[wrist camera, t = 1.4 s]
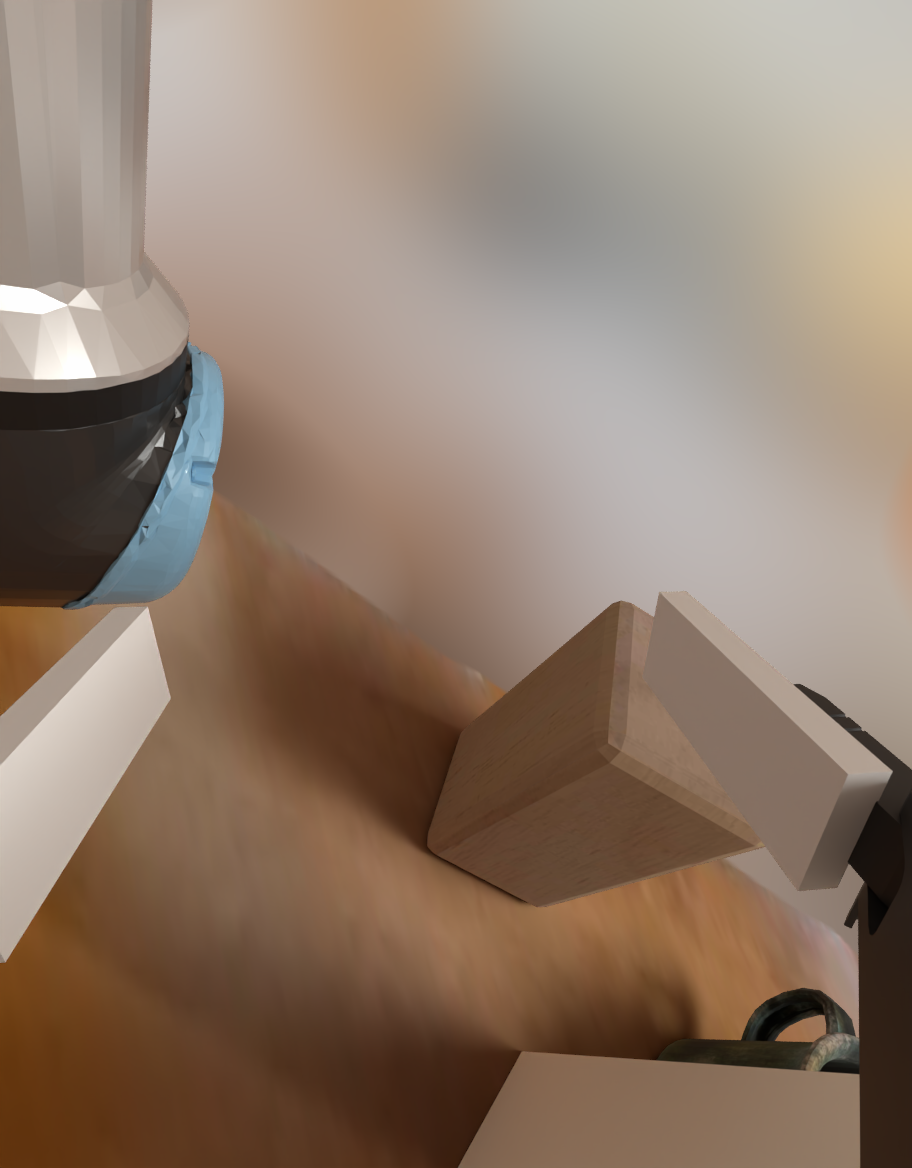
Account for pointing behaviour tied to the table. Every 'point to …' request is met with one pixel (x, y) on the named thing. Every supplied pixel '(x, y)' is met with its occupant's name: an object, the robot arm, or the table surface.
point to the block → (583, 778)
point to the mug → (764, 1052)
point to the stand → (667, 1116)
